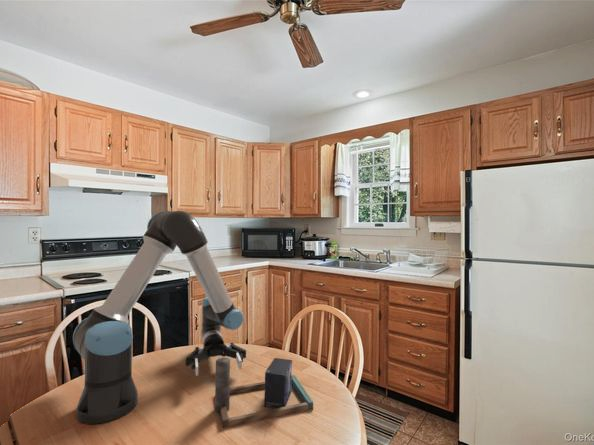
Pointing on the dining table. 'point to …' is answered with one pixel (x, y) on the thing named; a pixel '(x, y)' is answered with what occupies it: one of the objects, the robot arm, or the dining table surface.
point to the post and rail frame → (224, 390)
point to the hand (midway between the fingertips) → (219, 368)
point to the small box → (278, 383)
